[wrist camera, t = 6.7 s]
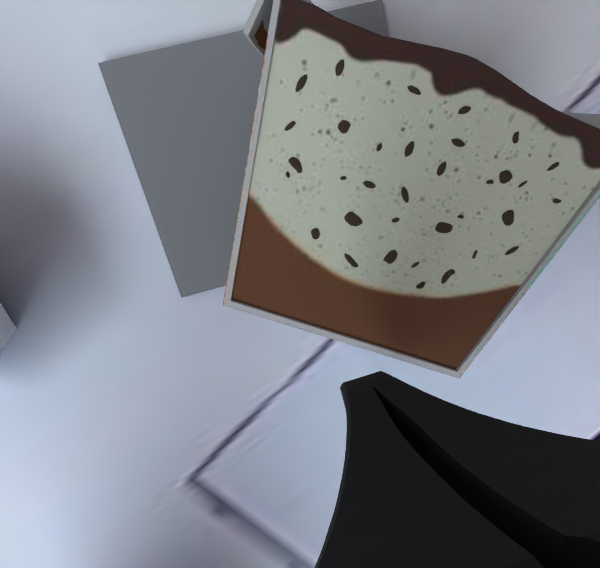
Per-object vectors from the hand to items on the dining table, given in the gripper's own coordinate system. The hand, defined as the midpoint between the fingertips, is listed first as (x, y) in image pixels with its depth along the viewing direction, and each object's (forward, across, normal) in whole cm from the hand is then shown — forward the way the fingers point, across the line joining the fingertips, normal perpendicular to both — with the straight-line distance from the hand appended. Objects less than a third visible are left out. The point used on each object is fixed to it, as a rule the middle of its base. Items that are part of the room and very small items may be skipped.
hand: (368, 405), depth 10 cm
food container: (+6, -1, -1) cm, 6 cm away
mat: (+7, 0, -8) cm, 11 cm away
